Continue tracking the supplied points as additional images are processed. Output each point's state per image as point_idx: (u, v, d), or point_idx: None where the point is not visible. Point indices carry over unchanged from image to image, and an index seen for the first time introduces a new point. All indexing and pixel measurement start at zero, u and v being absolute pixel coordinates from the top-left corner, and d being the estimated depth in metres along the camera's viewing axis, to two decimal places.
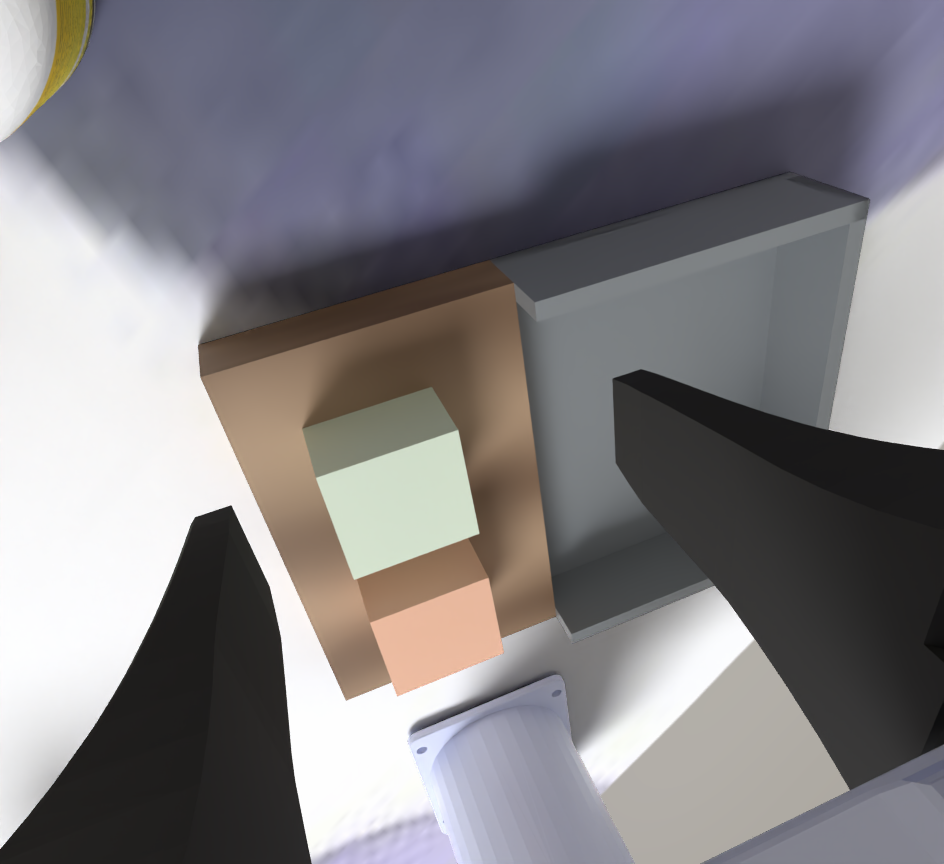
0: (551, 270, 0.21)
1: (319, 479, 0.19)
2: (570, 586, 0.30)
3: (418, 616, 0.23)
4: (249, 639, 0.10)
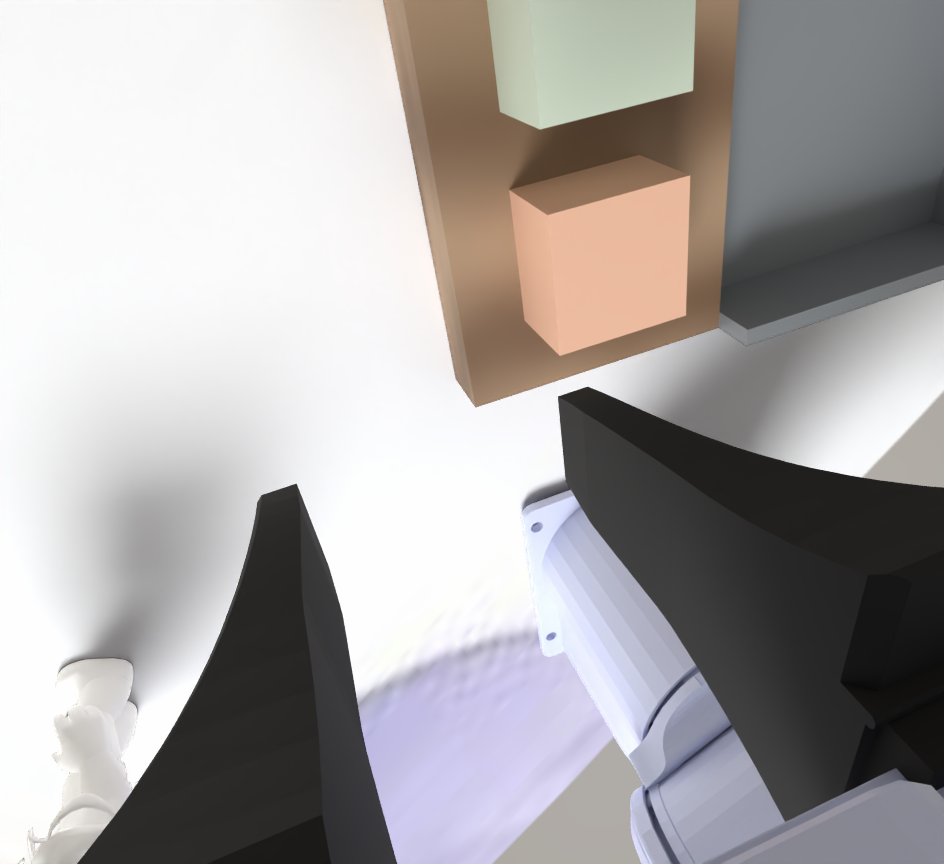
0: None
1: None
2: (733, 296, 0.25)
3: (603, 221, 0.18)
4: (323, 611, 0.10)
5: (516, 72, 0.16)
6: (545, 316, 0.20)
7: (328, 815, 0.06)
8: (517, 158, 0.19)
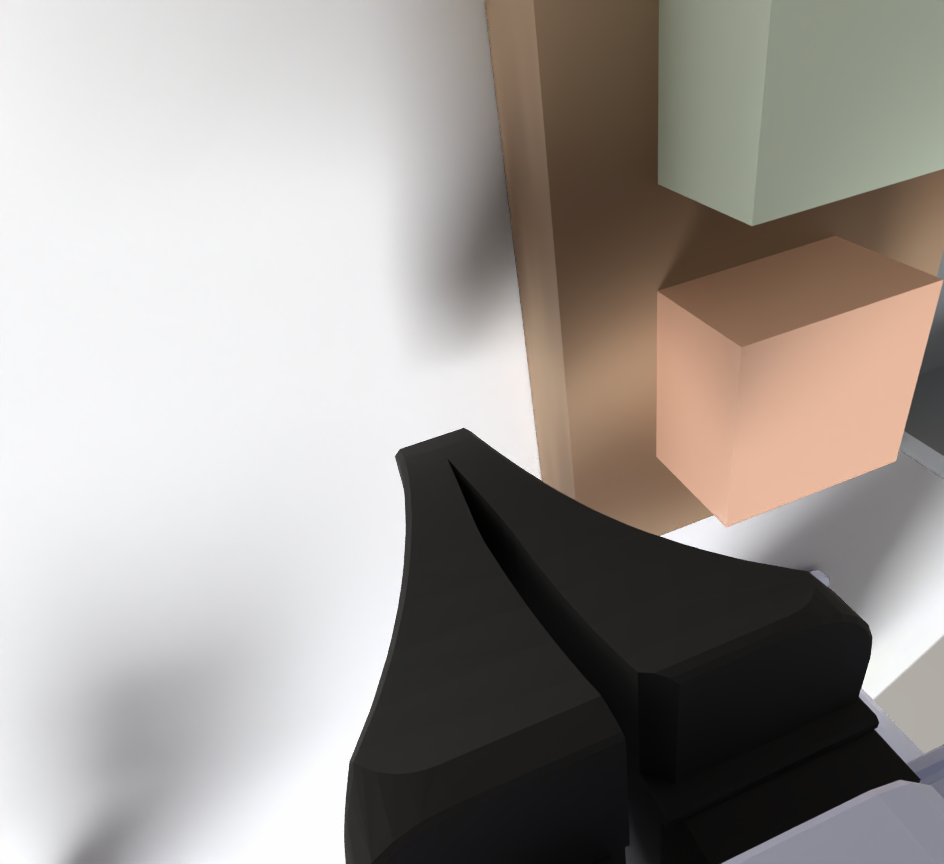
0: None
1: None
2: None
3: (815, 349, 0.12)
4: None
5: (710, 134, 0.10)
6: (704, 469, 0.14)
7: None
8: (674, 248, 0.13)
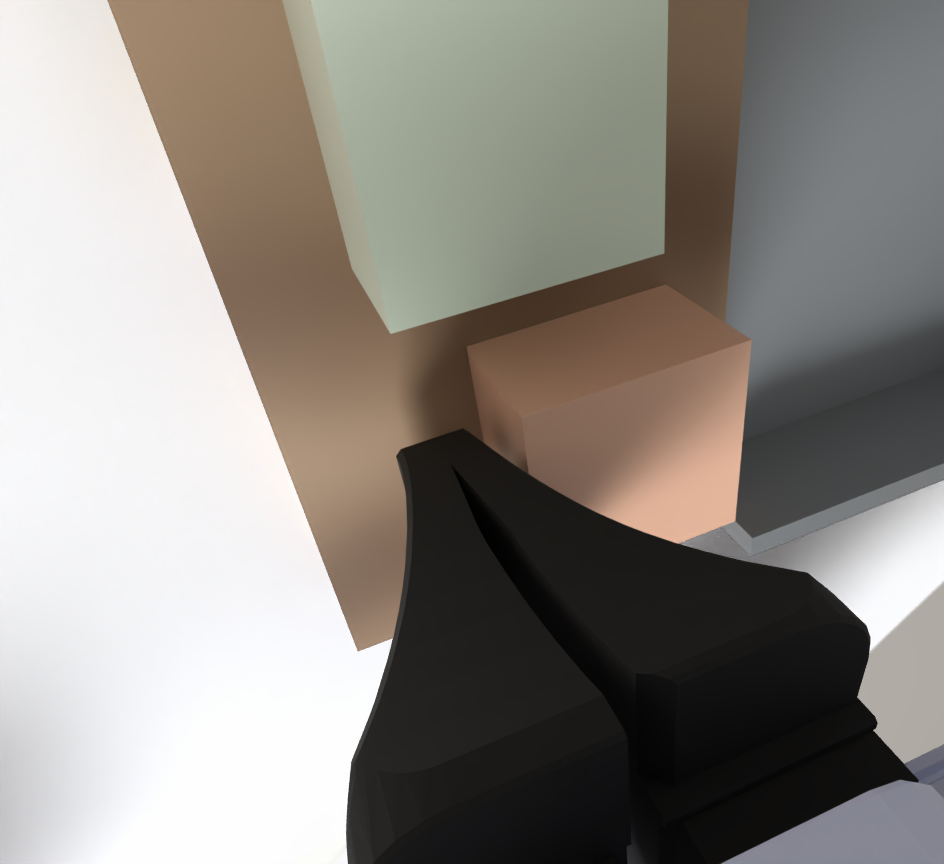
0: None
1: None
2: None
3: (612, 415, 0.11)
4: None
5: (353, 229, 0.09)
6: None
7: None
8: (389, 332, 0.12)
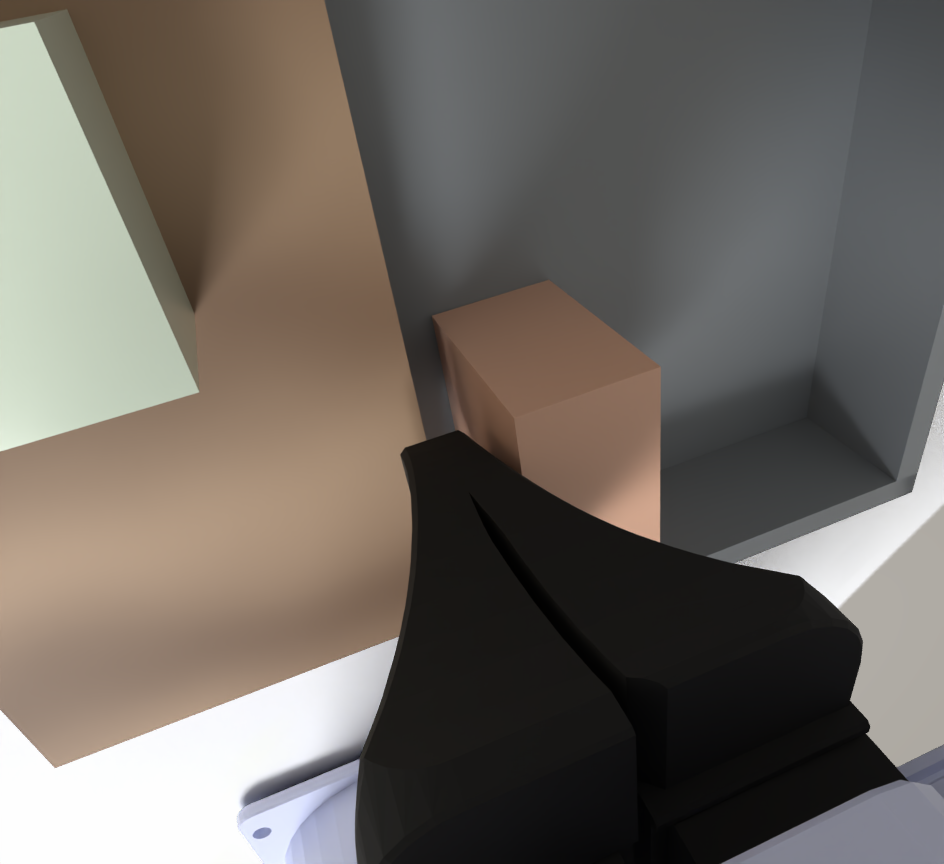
0: None
1: None
2: None
3: None
4: None
5: None
6: None
7: None
8: None
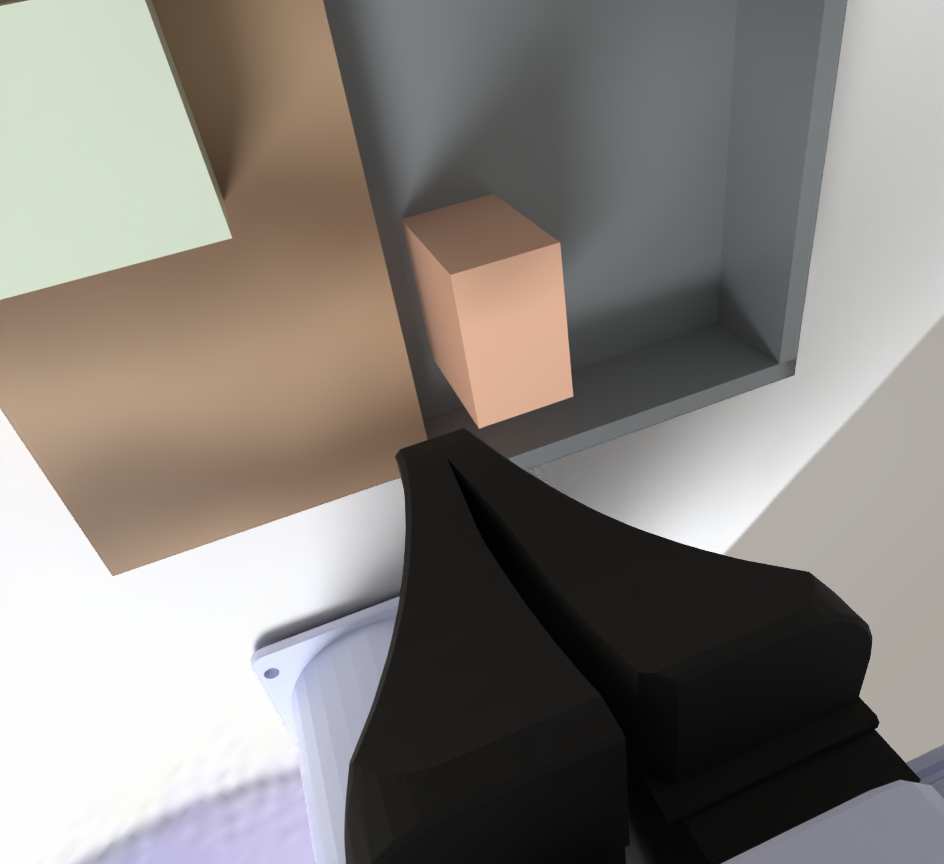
0: None
1: None
2: (456, 426, 0.21)
3: None
4: None
5: None
6: (540, 376, 0.17)
7: None
8: (71, 303, 0.15)
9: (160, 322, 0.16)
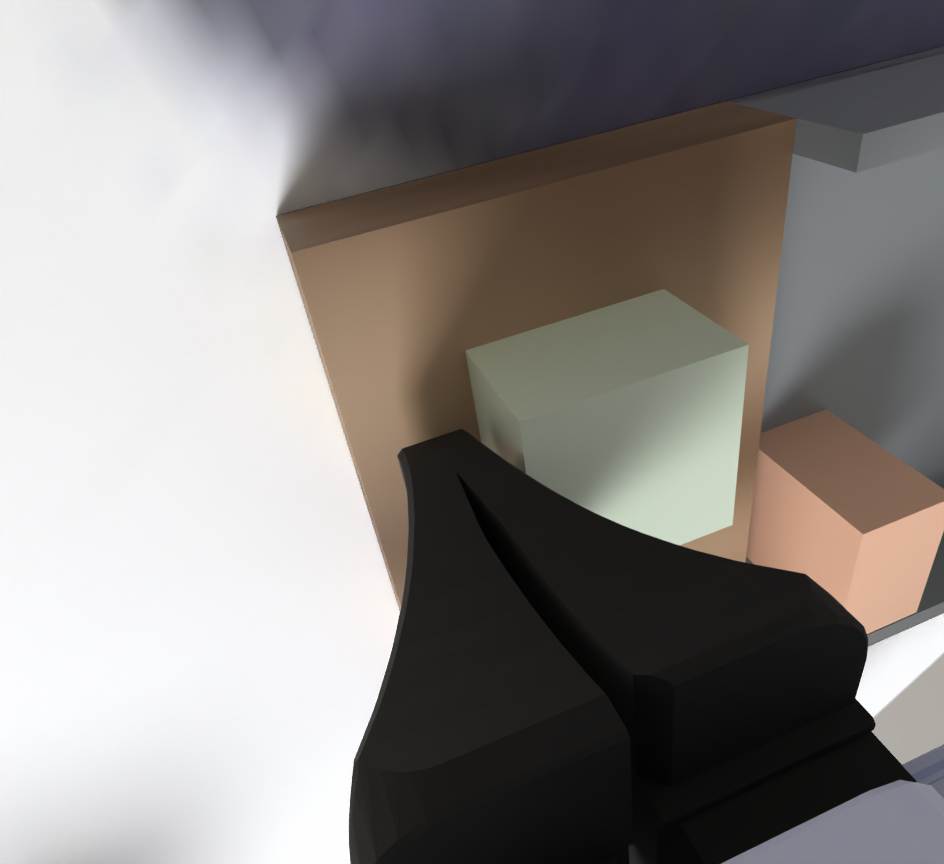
0: (853, 102, 0.13)
1: (523, 425, 0.11)
2: None
3: None
4: None
5: None
6: (897, 600, 0.18)
7: None
8: None
9: None
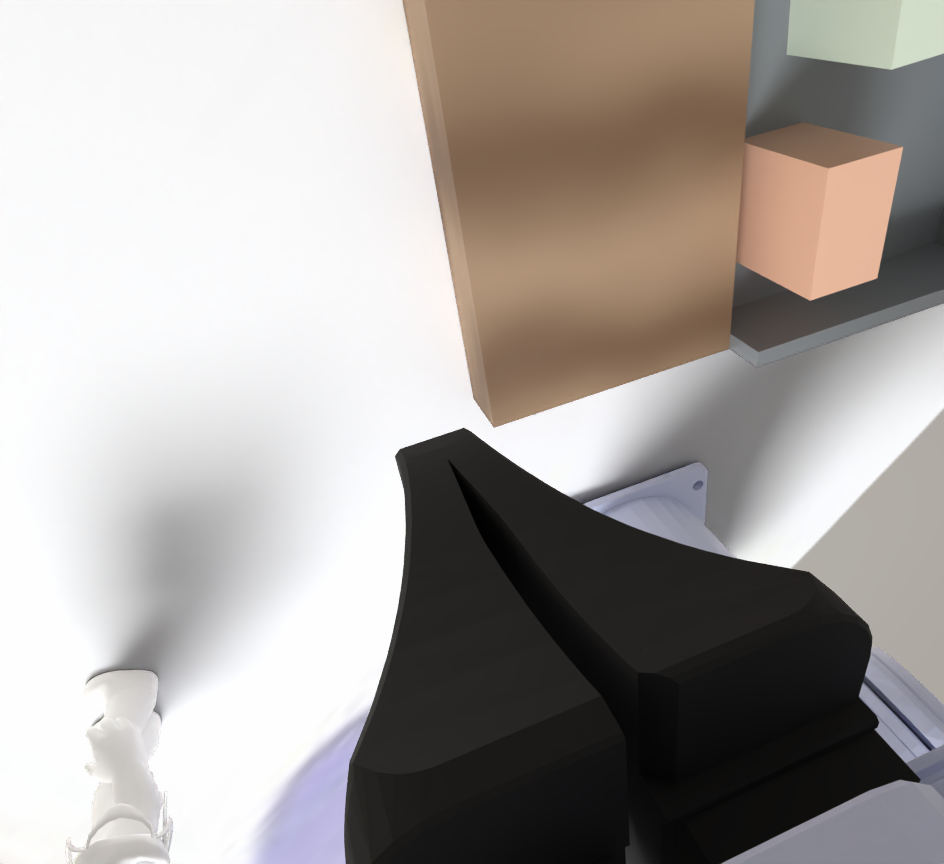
0: None
1: None
2: (743, 318, 0.25)
3: None
4: None
5: None
6: (860, 258, 0.22)
7: None
8: (538, 191, 0.20)
9: (587, 210, 0.20)
